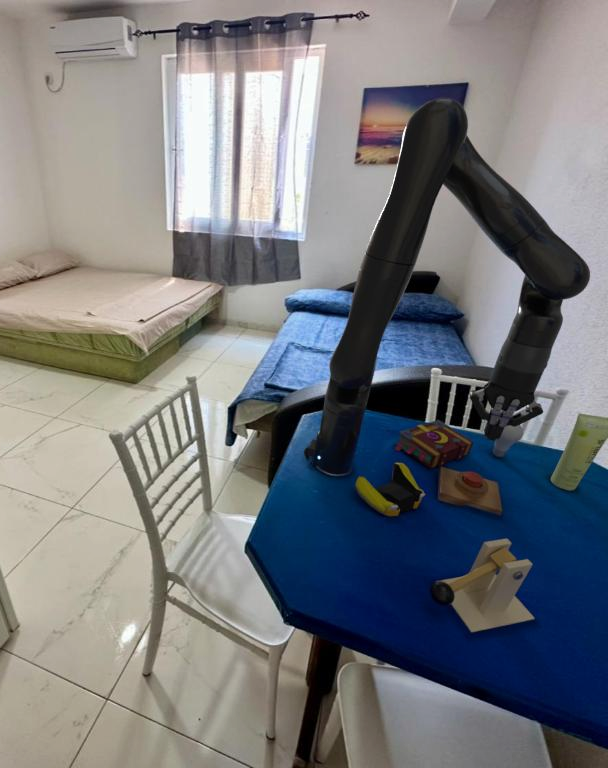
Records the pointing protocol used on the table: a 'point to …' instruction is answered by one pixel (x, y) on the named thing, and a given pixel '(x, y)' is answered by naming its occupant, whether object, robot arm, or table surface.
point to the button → (473, 479)
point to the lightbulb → (507, 440)
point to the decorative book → (434, 443)
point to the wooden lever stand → (492, 592)
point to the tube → (580, 450)
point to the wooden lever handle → (468, 578)
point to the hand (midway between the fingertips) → (490, 438)
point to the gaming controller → (392, 492)
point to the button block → (468, 492)
